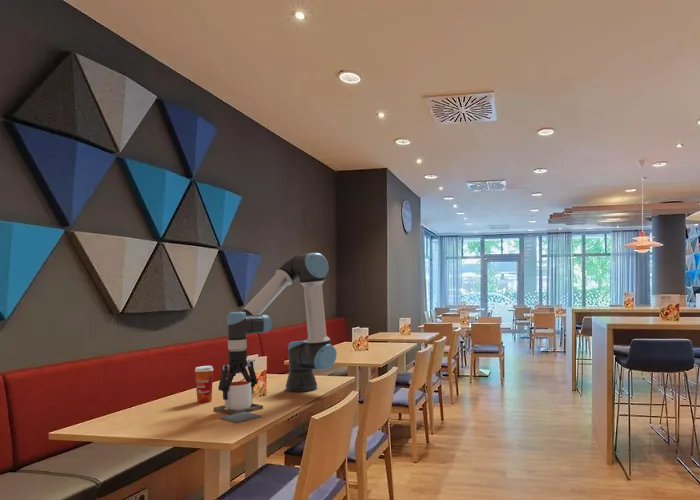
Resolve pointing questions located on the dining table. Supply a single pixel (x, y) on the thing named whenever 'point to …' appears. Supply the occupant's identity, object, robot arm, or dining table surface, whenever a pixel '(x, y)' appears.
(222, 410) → the frame
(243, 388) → the cup
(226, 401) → the robot arm
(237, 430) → the dining table surface
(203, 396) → the coffee cup
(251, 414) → the coaster
